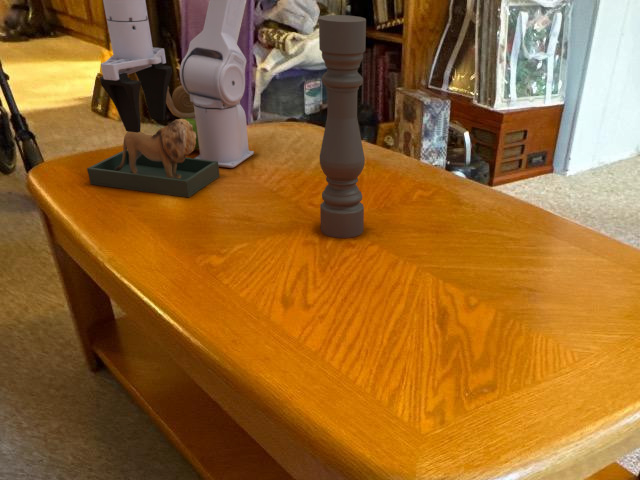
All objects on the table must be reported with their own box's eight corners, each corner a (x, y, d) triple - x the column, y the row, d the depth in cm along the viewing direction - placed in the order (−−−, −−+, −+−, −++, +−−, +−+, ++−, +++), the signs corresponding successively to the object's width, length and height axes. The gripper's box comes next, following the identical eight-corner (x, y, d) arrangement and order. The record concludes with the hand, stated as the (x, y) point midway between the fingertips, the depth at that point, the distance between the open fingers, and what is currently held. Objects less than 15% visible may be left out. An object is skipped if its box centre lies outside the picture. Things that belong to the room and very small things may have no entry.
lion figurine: (206, 177, 112) (198, 116, 106) (194, 187, 108) (186, 124, 102) (122, 169, 113) (110, 108, 107) (107, 179, 109) (94, 116, 103)
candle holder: (365, 223, 100) (370, 16, 83) (360, 239, 95) (365, 23, 78) (324, 220, 100) (320, 13, 83) (317, 236, 95) (312, 20, 79)
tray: (127, 164, 116) (124, 149, 115) (219, 176, 113) (218, 161, 112) (90, 184, 108) (86, 168, 107) (188, 197, 105) (186, 181, 104)
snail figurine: (167, 148, 124) (155, 72, 116) (201, 145, 126) (192, 70, 118) (173, 156, 121) (162, 78, 113) (209, 153, 123) (200, 76, 115)
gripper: (125, 28, 90) (145, 139, 99) (177, 15, 101) (191, 117, 110) (78, 24, 92) (102, 134, 101) (134, 11, 102) (151, 112, 111)
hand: (146, 125), depth 105 cm, fingers open, 7 cm apart
